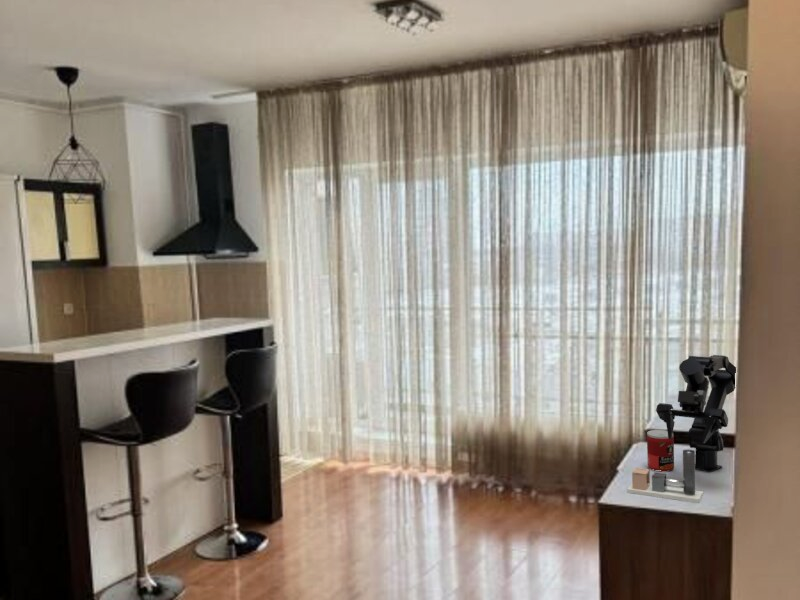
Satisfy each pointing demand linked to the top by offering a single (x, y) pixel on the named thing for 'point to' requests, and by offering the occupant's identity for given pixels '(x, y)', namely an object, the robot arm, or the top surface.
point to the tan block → (641, 479)
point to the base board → (669, 493)
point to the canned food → (660, 450)
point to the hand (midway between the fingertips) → (686, 440)
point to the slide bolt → (685, 474)
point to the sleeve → (658, 482)
